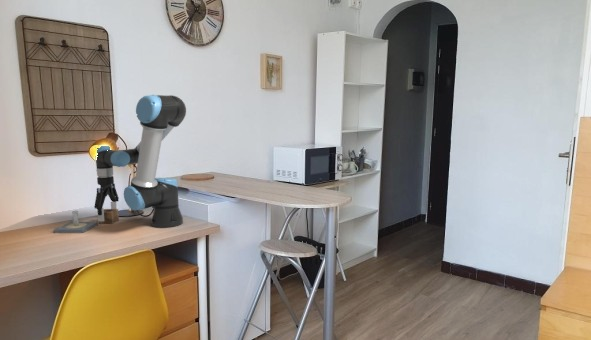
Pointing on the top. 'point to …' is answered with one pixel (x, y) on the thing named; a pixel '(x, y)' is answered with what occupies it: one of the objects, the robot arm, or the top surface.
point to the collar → (110, 216)
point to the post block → (75, 225)
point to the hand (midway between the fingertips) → (108, 217)
